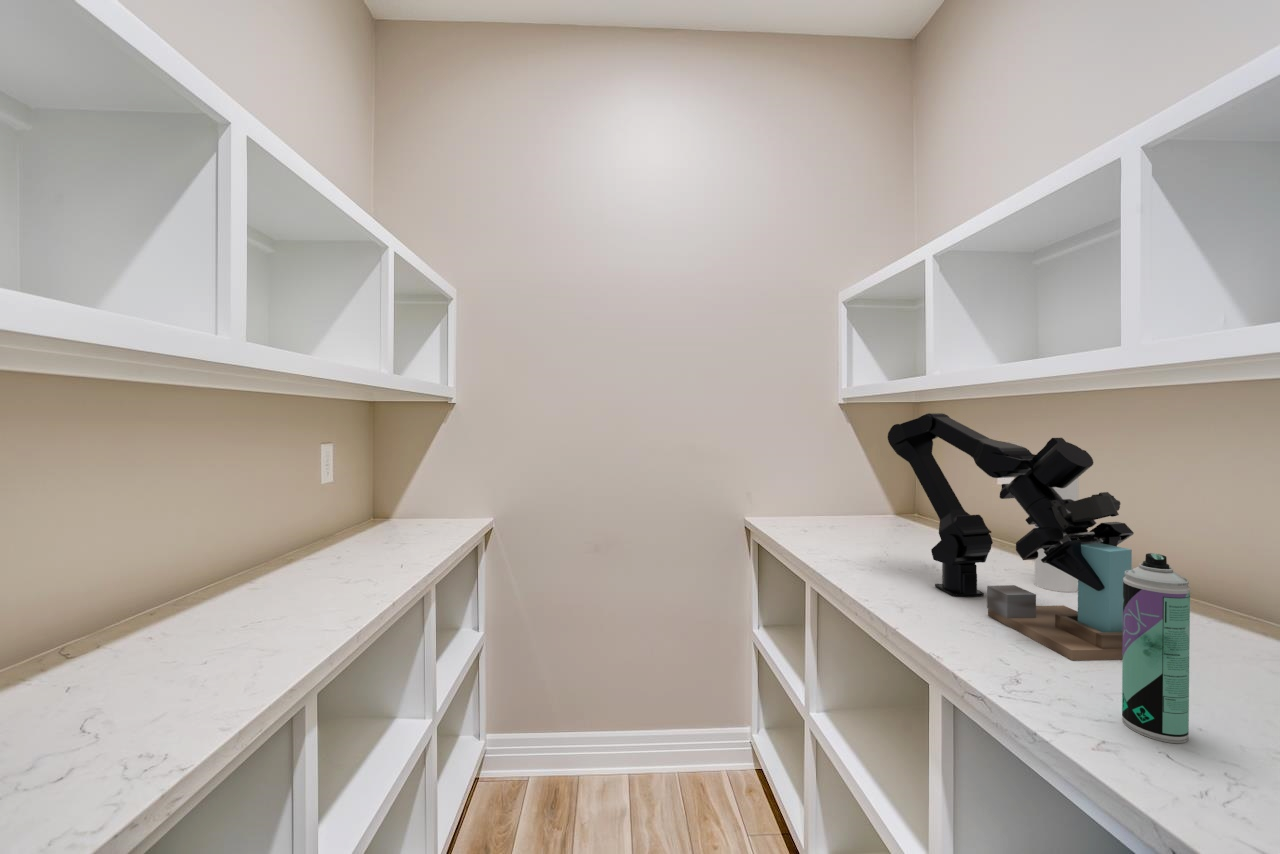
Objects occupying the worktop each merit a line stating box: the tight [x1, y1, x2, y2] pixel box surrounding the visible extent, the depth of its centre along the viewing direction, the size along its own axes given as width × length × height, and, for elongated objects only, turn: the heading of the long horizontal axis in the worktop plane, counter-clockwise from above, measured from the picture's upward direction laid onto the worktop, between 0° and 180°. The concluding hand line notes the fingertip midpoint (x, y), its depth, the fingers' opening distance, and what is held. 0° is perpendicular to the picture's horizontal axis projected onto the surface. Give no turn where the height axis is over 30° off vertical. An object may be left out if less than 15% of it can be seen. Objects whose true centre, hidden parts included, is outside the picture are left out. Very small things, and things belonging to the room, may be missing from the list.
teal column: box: [1077, 543, 1133, 633], centre depth 83 cm, size 4×4×13 cm
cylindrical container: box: [1033, 477, 1079, 593], centre depth 112 cm, size 7×7×25 cm
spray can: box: [1121, 552, 1191, 744], centre depth 61 cm, size 6×6×20 cm
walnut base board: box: [986, 584, 1123, 661], centre depth 87 cm, size 18×14×6 cm
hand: (1113, 588), depth 81 cm, fingers open, 5 cm apart
